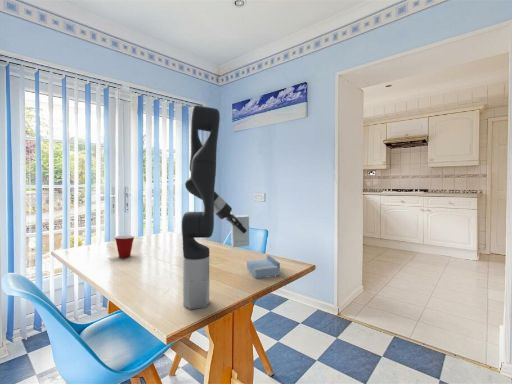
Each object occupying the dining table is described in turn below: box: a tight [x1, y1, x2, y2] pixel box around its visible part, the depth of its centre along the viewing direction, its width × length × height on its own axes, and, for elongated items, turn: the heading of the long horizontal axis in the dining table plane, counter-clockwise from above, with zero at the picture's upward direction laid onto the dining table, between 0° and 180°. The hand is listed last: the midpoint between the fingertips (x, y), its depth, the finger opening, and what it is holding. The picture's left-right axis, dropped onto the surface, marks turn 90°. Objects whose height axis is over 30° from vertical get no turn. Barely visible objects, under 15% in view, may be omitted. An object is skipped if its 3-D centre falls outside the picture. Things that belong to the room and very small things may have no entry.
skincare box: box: [230, 214, 250, 248], centre depth 131 cm, size 8×6×15 cm
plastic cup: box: [113, 234, 136, 259], centre depth 154 cm, size 11×11×12 cm
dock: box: [246, 254, 281, 279], centre depth 129 cm, size 14×12×6 cm
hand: (243, 230), depth 131 cm, fingers closed on skincare box, 6 cm apart
